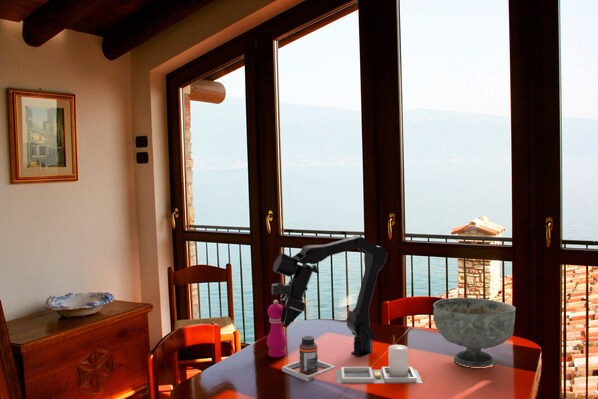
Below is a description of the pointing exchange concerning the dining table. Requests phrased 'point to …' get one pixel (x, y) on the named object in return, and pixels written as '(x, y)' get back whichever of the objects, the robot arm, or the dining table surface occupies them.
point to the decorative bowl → (474, 326)
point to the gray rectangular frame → (374, 375)
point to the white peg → (398, 361)
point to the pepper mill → (276, 331)
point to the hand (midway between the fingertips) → (283, 324)
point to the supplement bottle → (308, 355)
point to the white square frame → (289, 370)
